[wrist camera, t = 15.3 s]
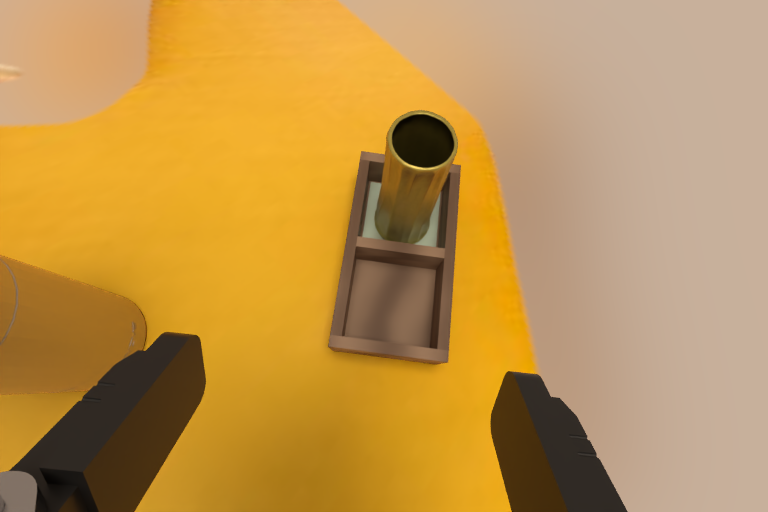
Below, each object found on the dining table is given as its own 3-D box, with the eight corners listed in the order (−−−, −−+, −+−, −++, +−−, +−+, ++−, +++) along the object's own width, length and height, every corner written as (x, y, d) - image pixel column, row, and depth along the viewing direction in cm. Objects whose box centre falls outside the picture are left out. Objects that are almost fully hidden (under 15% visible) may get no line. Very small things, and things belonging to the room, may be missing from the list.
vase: (410, 186, 41) (434, 93, 28) (440, 230, 40) (481, 153, 26) (364, 210, 40) (365, 125, 26) (393, 256, 38) (410, 190, 25)
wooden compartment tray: (332, 350, 36) (328, 346, 31) (361, 177, 43) (361, 151, 38) (436, 364, 36) (447, 362, 31) (449, 189, 43) (460, 165, 38)
